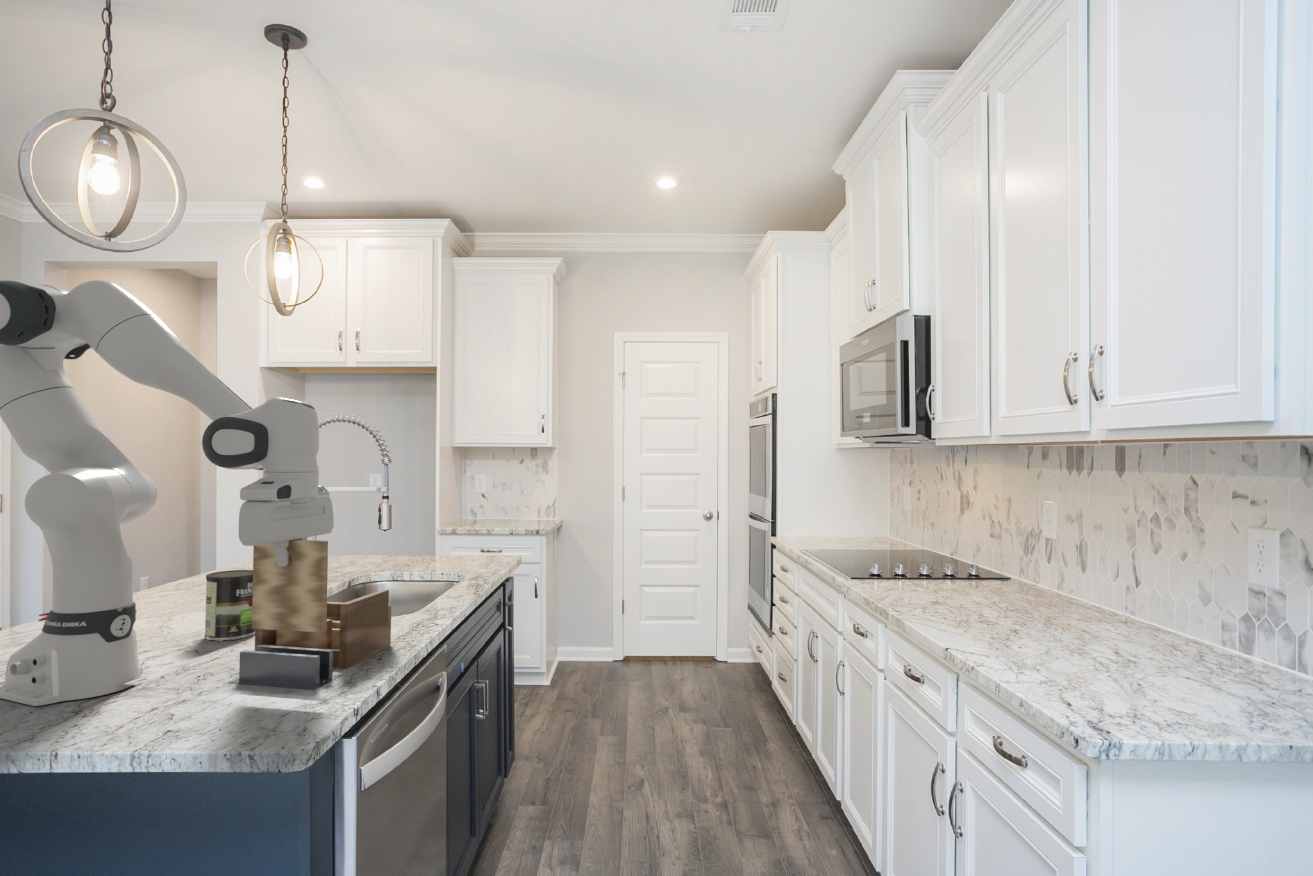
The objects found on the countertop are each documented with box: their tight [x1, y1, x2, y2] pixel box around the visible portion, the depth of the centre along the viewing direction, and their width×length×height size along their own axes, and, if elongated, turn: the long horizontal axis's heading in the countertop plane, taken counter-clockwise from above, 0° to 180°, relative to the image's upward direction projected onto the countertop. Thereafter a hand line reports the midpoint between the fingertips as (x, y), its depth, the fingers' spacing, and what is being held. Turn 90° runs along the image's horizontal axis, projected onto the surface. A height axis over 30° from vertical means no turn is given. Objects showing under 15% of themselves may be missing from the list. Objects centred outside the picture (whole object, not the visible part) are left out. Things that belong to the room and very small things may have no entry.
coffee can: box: [204, 569, 255, 642], centre depth 155 cm, size 10×10×14 cm
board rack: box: [254, 589, 392, 670], centre depth 137 cm, size 20×16×14 cm
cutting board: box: [252, 539, 329, 632], centre depth 122 cm, size 14×1×16 cm, turn 80°
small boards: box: [276, 619, 340, 649], centre depth 134 cm, size 14×4×8 cm, turn 80°
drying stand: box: [227, 645, 344, 691], centre depth 121 cm, size 17×8×6 cm, turn 80°
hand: (289, 564), depth 122 cm, fingers closed on cutting board, 1 cm apart
